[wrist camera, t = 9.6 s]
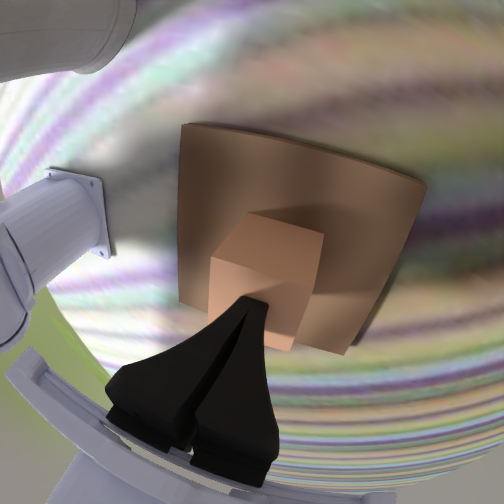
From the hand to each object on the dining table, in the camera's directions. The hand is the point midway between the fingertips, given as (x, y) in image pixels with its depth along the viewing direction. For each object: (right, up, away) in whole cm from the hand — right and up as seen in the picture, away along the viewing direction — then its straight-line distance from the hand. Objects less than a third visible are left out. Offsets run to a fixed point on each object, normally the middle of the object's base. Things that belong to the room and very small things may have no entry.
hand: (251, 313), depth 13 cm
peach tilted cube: (+2, +3, +4) cm, 5 cm away
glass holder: (-14, +23, -1) cm, 26 cm away
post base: (+2, +3, +5) cm, 6 cm away
